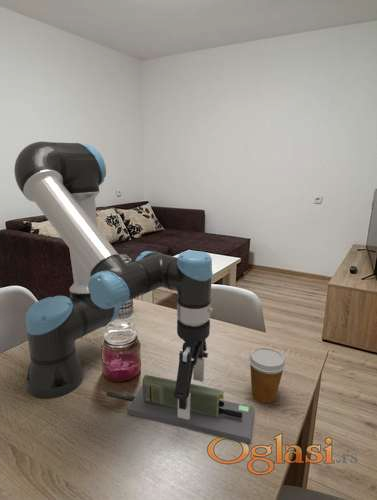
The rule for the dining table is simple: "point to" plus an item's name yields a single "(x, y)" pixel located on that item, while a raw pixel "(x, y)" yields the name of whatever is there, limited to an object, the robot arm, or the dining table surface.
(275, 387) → the disposable coffee cup
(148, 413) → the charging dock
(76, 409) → the dining table surface
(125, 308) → the decorative candle
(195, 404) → the handheld radio
